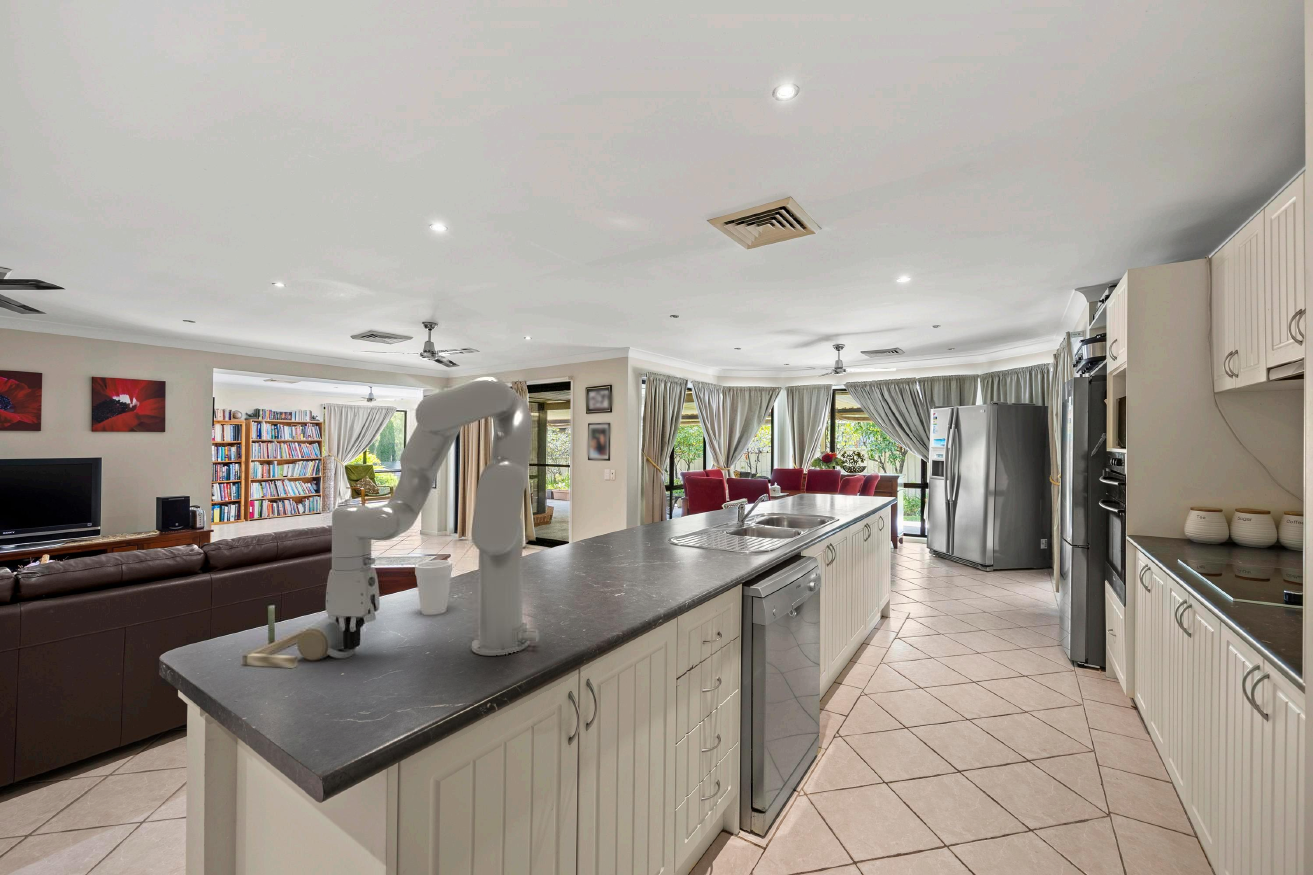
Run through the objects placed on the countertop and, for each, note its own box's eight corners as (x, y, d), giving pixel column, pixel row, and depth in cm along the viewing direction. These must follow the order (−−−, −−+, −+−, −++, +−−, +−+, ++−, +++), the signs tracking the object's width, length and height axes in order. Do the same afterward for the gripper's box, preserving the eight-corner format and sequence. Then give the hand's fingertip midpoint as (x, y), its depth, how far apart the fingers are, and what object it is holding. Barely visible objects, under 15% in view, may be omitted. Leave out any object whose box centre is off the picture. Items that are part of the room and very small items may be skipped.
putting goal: (346, 641, 129) (346, 598, 129) (292, 668, 113) (292, 619, 114) (297, 638, 131) (296, 596, 131) (237, 664, 116) (237, 616, 116)
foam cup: (407, 615, 148) (407, 567, 148) (427, 605, 157) (427, 559, 157) (440, 617, 146) (440, 568, 146) (458, 607, 155) (458, 560, 155)
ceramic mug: (293, 662, 117) (294, 625, 117) (320, 647, 125) (320, 613, 125) (341, 664, 116) (341, 627, 116) (365, 649, 124) (365, 615, 124)
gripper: (394, 560, 122) (394, 643, 122) (334, 558, 125) (333, 639, 125) (371, 567, 115) (371, 656, 115) (307, 565, 117) (307, 652, 117)
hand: (351, 647), depth 120 cm, fingers closed
